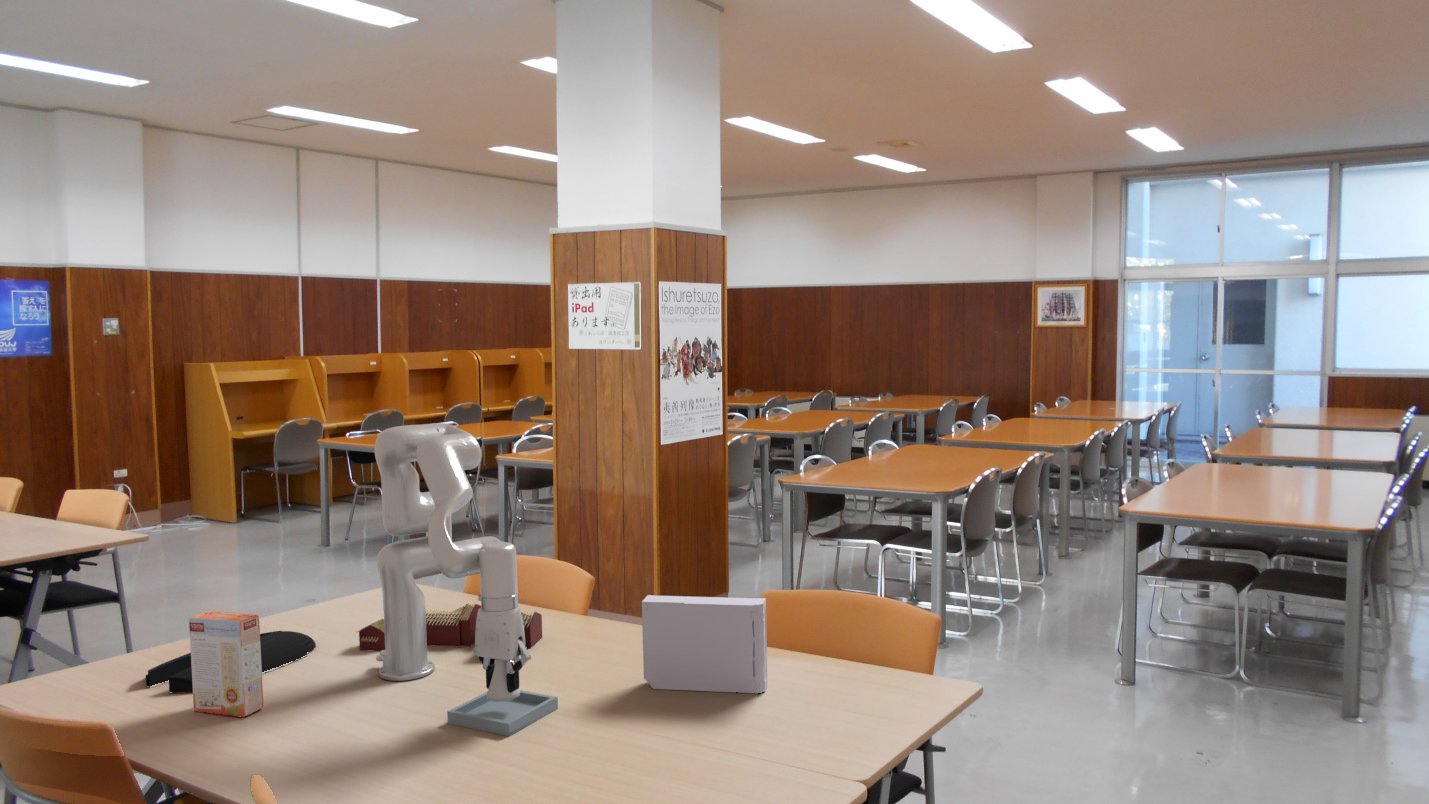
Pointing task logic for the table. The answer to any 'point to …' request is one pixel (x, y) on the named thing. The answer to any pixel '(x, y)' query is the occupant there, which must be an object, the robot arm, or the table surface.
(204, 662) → the cracker box
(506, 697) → the flask
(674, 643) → the game console
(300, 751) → the table surface
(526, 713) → the tray
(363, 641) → the toy houses
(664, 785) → the table surface
